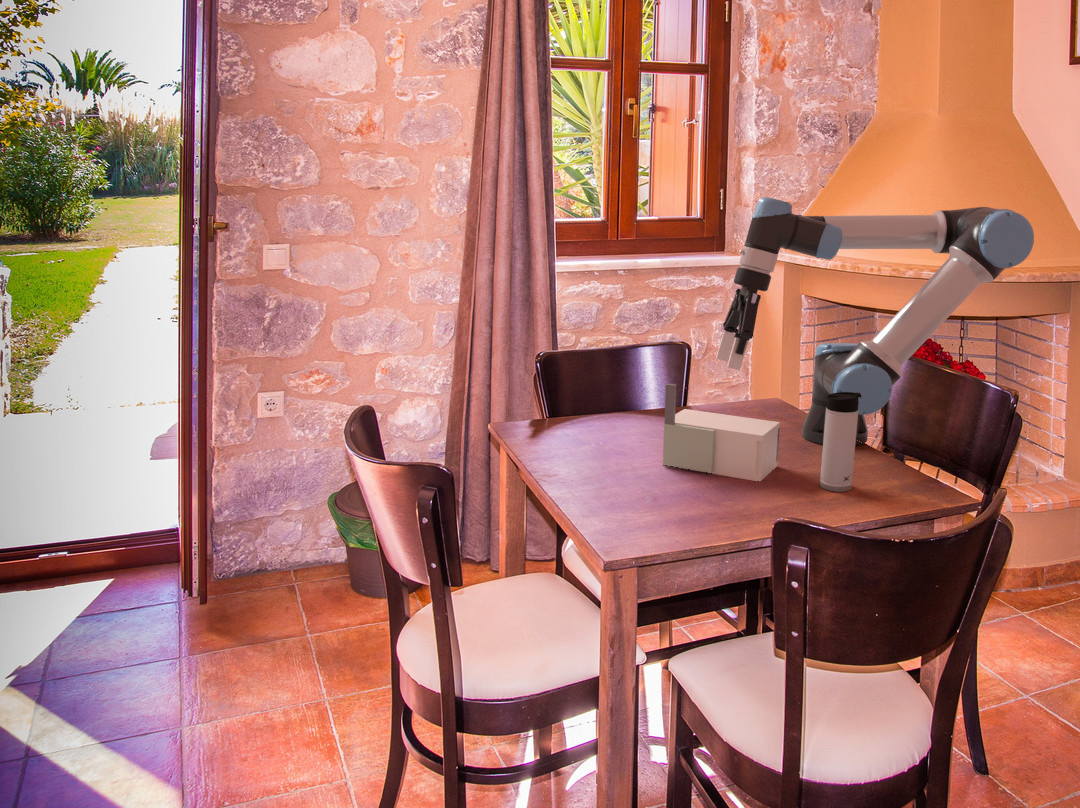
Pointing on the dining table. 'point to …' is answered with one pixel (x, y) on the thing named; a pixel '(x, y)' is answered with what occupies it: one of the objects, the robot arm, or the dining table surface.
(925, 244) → the robot arm
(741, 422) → the cream case
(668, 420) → the side door
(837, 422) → the travel mug
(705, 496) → the dining table surface
